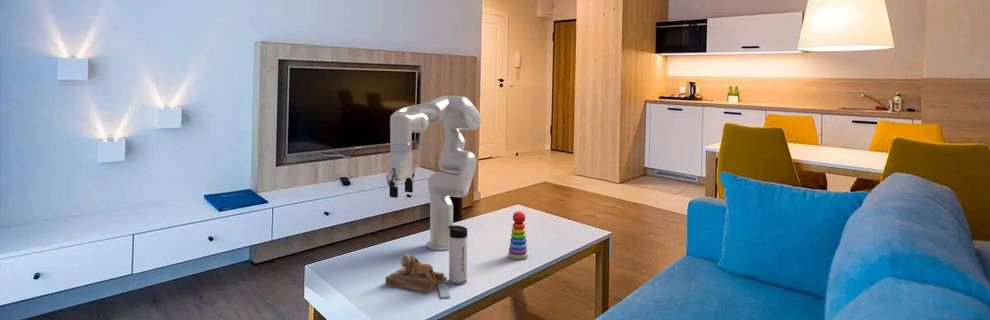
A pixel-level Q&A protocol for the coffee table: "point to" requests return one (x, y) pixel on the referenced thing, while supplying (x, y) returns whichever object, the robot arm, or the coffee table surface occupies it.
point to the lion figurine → (418, 267)
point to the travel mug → (458, 255)
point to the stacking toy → (518, 237)
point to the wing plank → (444, 291)
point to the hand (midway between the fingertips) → (401, 194)
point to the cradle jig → (414, 281)
